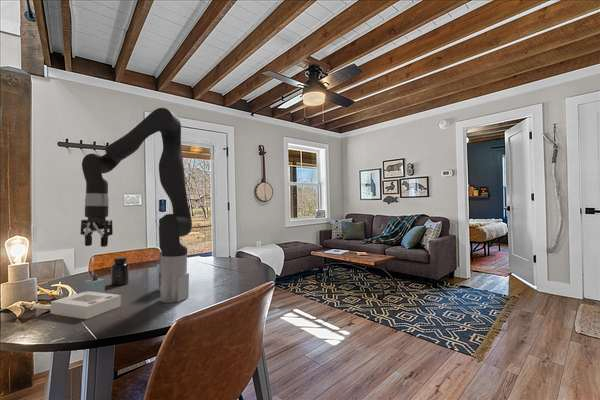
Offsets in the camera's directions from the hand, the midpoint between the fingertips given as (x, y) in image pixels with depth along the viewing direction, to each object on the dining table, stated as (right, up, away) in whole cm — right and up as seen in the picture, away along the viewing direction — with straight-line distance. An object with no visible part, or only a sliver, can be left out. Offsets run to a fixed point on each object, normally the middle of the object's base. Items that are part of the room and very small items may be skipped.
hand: (96, 246), depth 108 cm
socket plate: (+7, -20, -13) cm, 25 cm away
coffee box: (+23, -21, +13) cm, 34 cm away
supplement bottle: (-3, -21, +18) cm, 28 cm away
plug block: (0, -20, -1) cm, 20 cm away
